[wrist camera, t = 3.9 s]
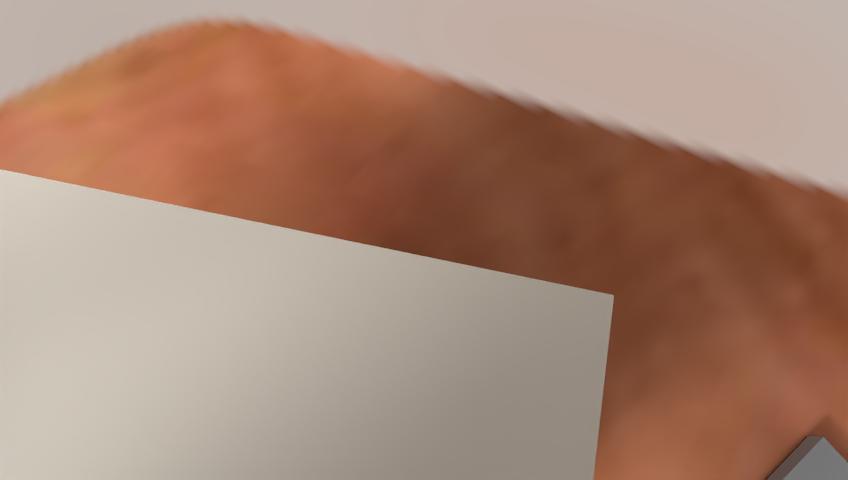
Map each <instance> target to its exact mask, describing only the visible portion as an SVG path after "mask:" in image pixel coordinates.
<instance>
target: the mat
mask: <svg viewBox="0 0 848 480" xmlns="http://www.w3.org/2000/svg"><path fill="white" fill-rule="evenodd" d="M767 480H848V462H847V461H846V460H845V459H844V458H843V457H842V456H841V455H840V454H839V453H838V452H837V451H836V450H835V448H834V447H833V446H832V445H831V444H830V443H829V442H828V441H827V440H826V439H825V438H824V437H821V436H809V435H808V437H807V438H806V439H805V440H804V441H803V442H802V443H801V444H800V445H799V446H798V447H797V448H796V449H795V450H794V451H793V452H792V453H791V454H790V455H789V457H788V458H787V459H786V460H785V461H784V462H783V463H782V464H781V465H780V466H779V467H778V468H777V469H776V470H775V471H774V472H773V473H772V474H771V475H770V476H769V478H768V479H767Z"/></svg>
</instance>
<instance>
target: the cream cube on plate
mask: <svg viewBox="0 0 848 480" xmlns="http://www.w3.org/2000/svg"><path fill="white" fill-rule="evenodd" d="M613 301H614V295H611V294H606V293H601V292H596V291H591V290H587V289H582V288H577V287H572V286H567V285H562V284H557V283H552V282H547V281H543V280H538V279H533V278H528V277H523V276H518V275H513V274H508V273H504V272H499V271H494V270H489V269H484V268H479V267H474V266H469V265H464V264H460V263H455V262H450V261H445V260H440V259H435V258H430V257H425V256H421V255H416V254H411V253H406V252H401V251H396V250H391V249H386V248H381V247H377V246H372V245H367V244H362V243H357V242H352V241H347V240H342V239H338V238H333V237H328V236H323V235H318V234H313V233H308V232H303V231H298V230H294V229H289V228H284V227H279V226H274V225H269V224H264V223H259V222H255V221H250V220H245V219H240V218H235V217H230V216H225V215H220V214H215V213H211V212H206V211H201V210H196V209H191V208H186V207H181V206H176V205H172V204H167V203H162V202H157V201H152V200H147V199H142V198H137V197H132V196H128V195H123V194H118V193H113V192H108V191H103V190H98V189H93V188H89V187H84V186H79V185H74V184H69V183H64V182H59V181H54V180H49V179H45V178H40V177H35V176H30V175H25V174H20V173H15V172H10V171H6V170H1V169H0V480H593V477H594V469H595V460H596V451H597V442H598V433H599V425H600V416H601V407H602V398H603V389H604V380H605V372H606V363H607V354H608V345H609V336H610V328H611V319H612V310H613Z"/></svg>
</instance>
